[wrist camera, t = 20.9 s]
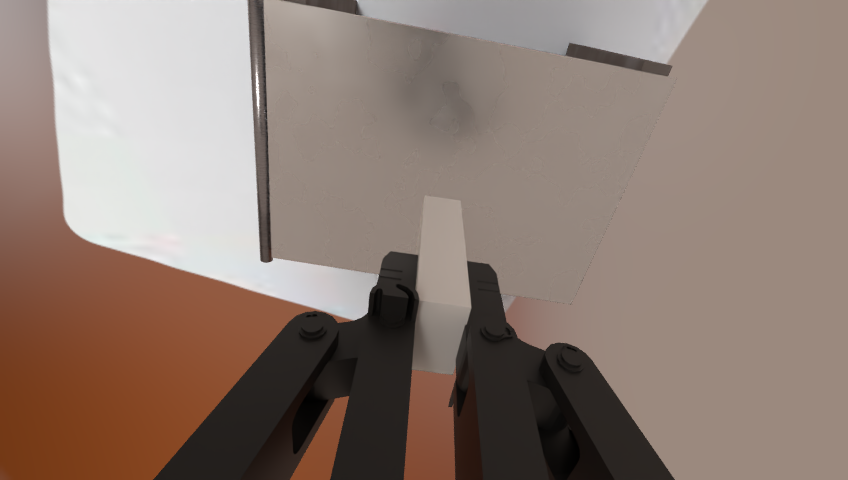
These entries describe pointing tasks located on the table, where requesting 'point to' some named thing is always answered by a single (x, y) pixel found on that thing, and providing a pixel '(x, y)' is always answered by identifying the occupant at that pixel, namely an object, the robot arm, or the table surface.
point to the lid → (438, 144)
